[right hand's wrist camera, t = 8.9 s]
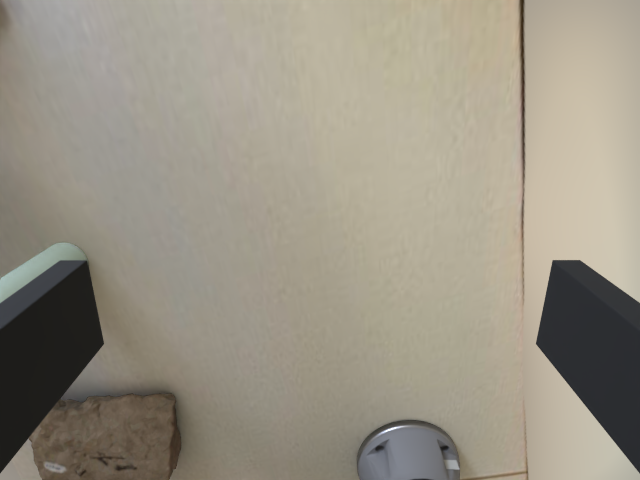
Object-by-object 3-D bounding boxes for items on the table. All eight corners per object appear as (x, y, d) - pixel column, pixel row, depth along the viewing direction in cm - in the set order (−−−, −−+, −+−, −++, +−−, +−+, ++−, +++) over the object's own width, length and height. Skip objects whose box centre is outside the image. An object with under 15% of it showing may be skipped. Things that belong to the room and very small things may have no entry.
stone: (34, 481, 65) (14, 511, 59) (27, 385, 63) (5, 406, 57) (183, 467, 69) (177, 494, 63) (181, 377, 67) (175, 396, 61)
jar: (71, 288, 58) (-31, 376, 41) (37, 260, 57) (-84, 339, 40) (97, 263, 57) (3, 343, 40) (62, 233, 55) (-51, 303, 38)
